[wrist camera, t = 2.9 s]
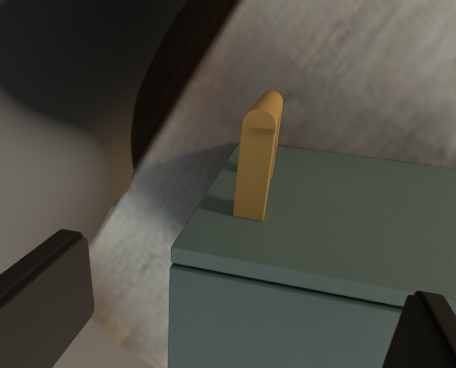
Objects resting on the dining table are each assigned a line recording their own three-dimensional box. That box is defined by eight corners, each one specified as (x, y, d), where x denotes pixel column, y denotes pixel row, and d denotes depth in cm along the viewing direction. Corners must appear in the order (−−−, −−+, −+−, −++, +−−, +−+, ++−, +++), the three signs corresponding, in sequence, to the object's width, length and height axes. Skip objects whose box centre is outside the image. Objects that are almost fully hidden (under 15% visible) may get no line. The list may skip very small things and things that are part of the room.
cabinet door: (246, 79, 36) (173, 114, 15) (504, 105, 33) (915, 205, 11) (239, 148, 39) (170, 262, 18) (475, 180, 36) (751, 374, 14)
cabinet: (239, 150, 40) (169, 268, 18) (473, 182, 36) (751, 381, 14) (227, 272, 47) (165, 467, 25) (422, 310, 43) (556, 579, 21)
